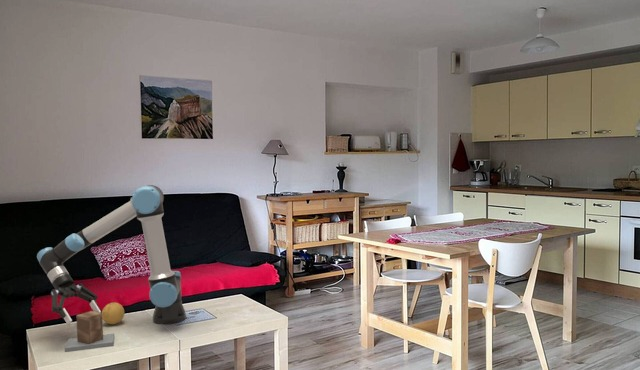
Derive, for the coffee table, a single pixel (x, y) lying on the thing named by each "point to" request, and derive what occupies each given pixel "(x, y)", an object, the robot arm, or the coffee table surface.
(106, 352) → the coffee table surface
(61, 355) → the coffee table surface
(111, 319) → the stress ball
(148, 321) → the coffee table surface
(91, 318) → the brown wooden block
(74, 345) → the stub plate
